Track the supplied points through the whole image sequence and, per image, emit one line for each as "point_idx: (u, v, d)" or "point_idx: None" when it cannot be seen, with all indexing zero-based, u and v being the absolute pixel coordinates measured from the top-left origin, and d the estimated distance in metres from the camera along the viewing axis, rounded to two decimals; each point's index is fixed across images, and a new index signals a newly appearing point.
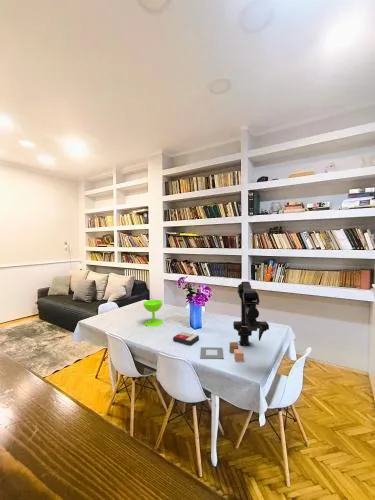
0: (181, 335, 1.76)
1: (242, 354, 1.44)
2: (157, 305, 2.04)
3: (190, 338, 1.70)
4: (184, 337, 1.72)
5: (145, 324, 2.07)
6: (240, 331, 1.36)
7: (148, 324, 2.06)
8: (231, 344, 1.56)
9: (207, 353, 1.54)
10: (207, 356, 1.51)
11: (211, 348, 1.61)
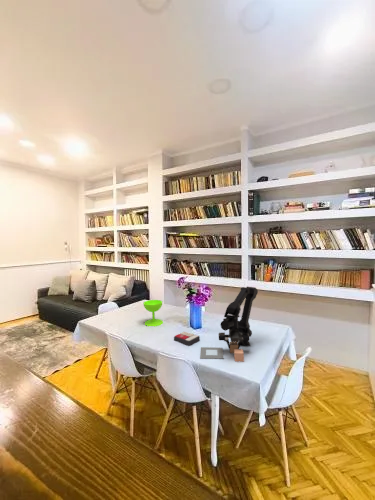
0: (182, 335, 1.76)
1: (242, 354, 1.44)
2: (157, 305, 2.04)
3: (190, 338, 1.70)
4: (184, 337, 1.72)
5: (145, 324, 2.07)
6: (227, 341, 1.55)
7: (148, 324, 2.06)
8: (231, 344, 1.56)
9: (207, 353, 1.54)
10: (207, 356, 1.51)
11: (211, 348, 1.61)
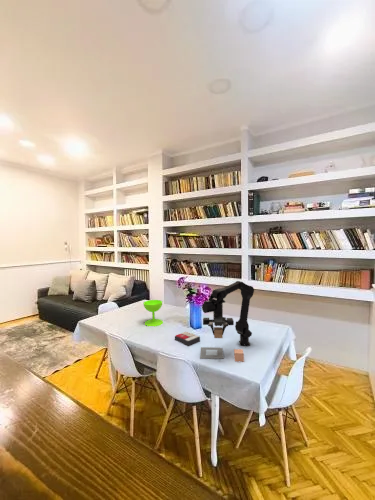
0: (183, 335, 1.77)
1: (242, 354, 1.44)
2: (157, 305, 2.04)
3: (189, 338, 1.69)
4: (184, 337, 1.72)
5: (145, 324, 2.07)
6: (211, 326, 1.53)
7: (148, 324, 2.06)
8: (215, 329, 1.54)
9: (207, 353, 1.54)
10: (207, 356, 1.51)
11: (211, 348, 1.61)
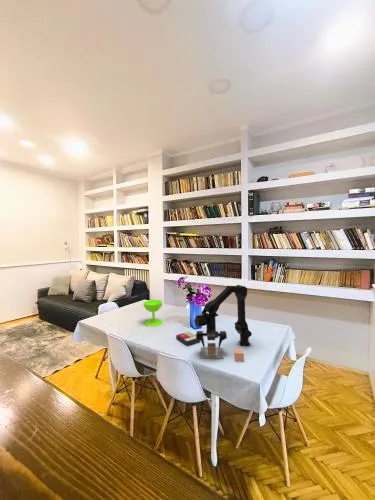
0: (184, 334, 1.77)
1: (242, 354, 1.44)
2: (157, 305, 2.04)
3: (189, 339, 1.69)
4: (185, 337, 1.72)
5: (145, 324, 2.07)
6: (201, 340, 1.53)
7: (148, 324, 2.06)
8: (209, 345, 1.54)
9: (207, 353, 1.54)
10: (207, 356, 1.51)
11: None
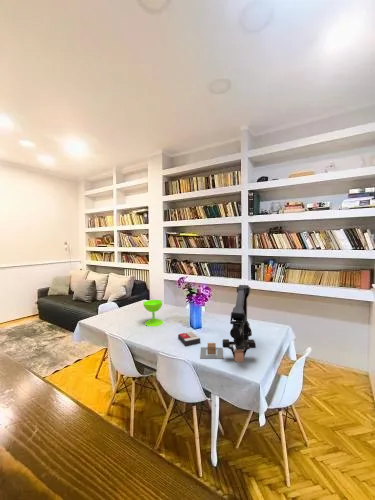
0: (185, 334, 1.77)
1: (242, 354, 1.44)
2: (157, 305, 2.04)
3: (188, 339, 1.69)
4: (185, 337, 1.73)
5: (145, 324, 2.07)
6: (232, 349, 1.45)
7: (148, 324, 2.06)
8: (209, 345, 1.54)
9: (207, 353, 1.54)
10: (207, 356, 1.51)
11: None
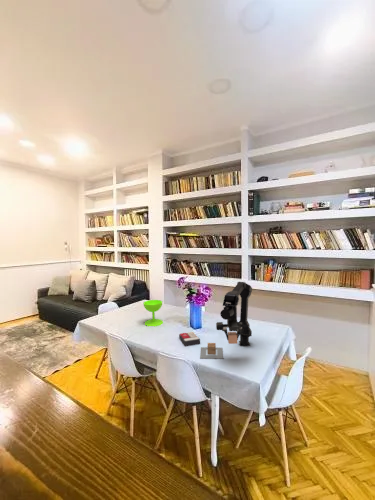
0: (186, 334, 1.77)
1: (235, 336, 1.45)
2: (157, 305, 2.04)
3: (188, 339, 1.69)
4: (185, 336, 1.73)
5: (145, 324, 2.07)
6: (225, 331, 1.46)
7: (148, 324, 2.06)
8: (209, 345, 1.54)
9: (207, 353, 1.54)
10: (207, 356, 1.51)
11: None
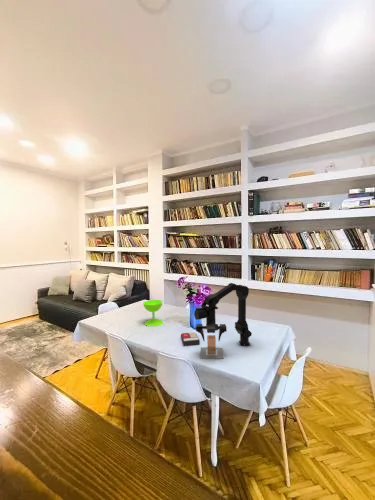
0: (187, 334, 1.77)
1: (214, 339, 1.52)
2: (157, 305, 2.04)
3: (187, 339, 1.68)
4: (185, 336, 1.73)
5: (145, 324, 2.07)
6: (201, 333, 1.53)
7: (148, 324, 2.06)
8: None
9: (207, 353, 1.54)
10: (207, 356, 1.51)
11: None
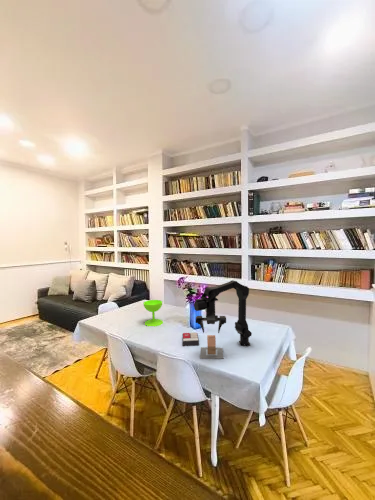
0: (188, 334, 1.77)
1: (214, 339, 1.52)
2: (157, 305, 2.04)
3: (187, 339, 1.68)
4: (186, 336, 1.73)
5: (145, 324, 2.07)
6: (201, 324, 1.53)
7: (148, 324, 2.06)
8: None
9: (207, 353, 1.54)
10: (207, 356, 1.51)
11: None
